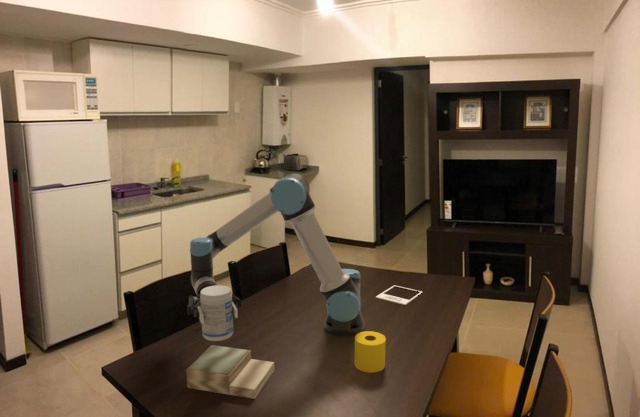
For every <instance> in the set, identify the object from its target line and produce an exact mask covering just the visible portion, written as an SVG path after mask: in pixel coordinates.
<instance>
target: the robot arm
mask: <svg viewBox="0 0 640 417" xmlns="http://www.w3.org/2000/svg"><path fill="white" fill-rule="evenodd" d="M315 208H316V205H315V203H314V201H313V199H312V197H311V194H310V185H309V181H308V180H307V179H306V178H305V177H304V176H303V175H301V174H299V173H294V172H293V173H287V174H286V175H284V176H282V177H281V178H280V179H279V180H277V181H276V182H275V183H274V184H273V186H272V187H271V188H270V189H269V193H267V194H266V195H264V196H263V197H261V198H260V199H259V200H257V201H256V202H254V203H253V204H252V205H250V206H249V207H247V208H246V209H244V210H243V211H241V212H240V213H238V214H237V215H236V216H234V217H233V218H232V219H231V220H229V221H227V222H226V223H224V224H223V225H222V226H221V227H219V228H218V229H217V230H215V231H214V232H212V233H210V234H208V235H207V236H206V237H197V238H193V239H192V240H190V243H189V244H190V246H189V253H190V265H191V268H190V269H191V274H190V284H191V287H192V288H193V290H194V292H195V294H196V296H193V295H189V296H188V304H187V307H186V310H187V315H188V316H191V315H193V317H194V318H198V320H199V322H200V324H201V325H202V323H204V317H203V313H202V310H201V303H200V292H201V290H202V289H204V288H206V287H209V286H216V285H218V284H217V282H216V280H215V279H214V263H213V260H214V258H216V256H217V255H218V254H219V253H221V252H222V251H223V250H226V249H227V248H228V247H229V246H231V245H232V244H234V243H235V242H236V241H238V240H239V239H241V238H242V237H244V236H245V235H247V234H249V232H251V231H253V230H254V229H255V228H257V227H258V226H260V225H261V224H263V223H264V222H266V221H267V220H268V219H270V218H271V217H273V216H274V215H276V214H277V213H280V214H281V217H282V218H283V220H284V222H285V223H288V224H291V226H292V228H293V230H294V233H295V234H296V236H297V239H299V240H298V241H299V242H300V244H301V246H302V248H303V250H304V252H305V254H306V256H307V258H308V260H309V262H310V264H311V266H312V268H313V270H314V271H315V273H316V276H317V278H318V279H319V282H320V283H321V284H320V287H319V291H320V293H321V295H322V297H323V299H324V302H325V303H326V304H325V306H326V307H325V309H326V311H327V315H326V317H325V321H324V328H325V330H326V331H327V332H328V333H330V334H333V335H336V336H342V337H349V336H350V337H351V336H356V335H357V334H358V333H360V332H364V329H365V321H364V318H363V315H362V311H361V308H362V301H361V278H362V277H361V272H360V271H359V270H356V269H353V268H342V267H341V265H340V263H339V261H338V259H337V257H336V256H335V253H334V251H333V249H332V247H331V245H330V243H329V241H328V239H327V237H326V235H325V233H324V230H323V228H322V227H321V224H320V223H319V220H318V219H317V217H316V215H315V213H314V212H315ZM239 308H242V299H241V298H240V297H238V295H235V294H234V293H232V310H233V318H235V319H237V318H238V317H239V316H238V313H239Z"/></svg>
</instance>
